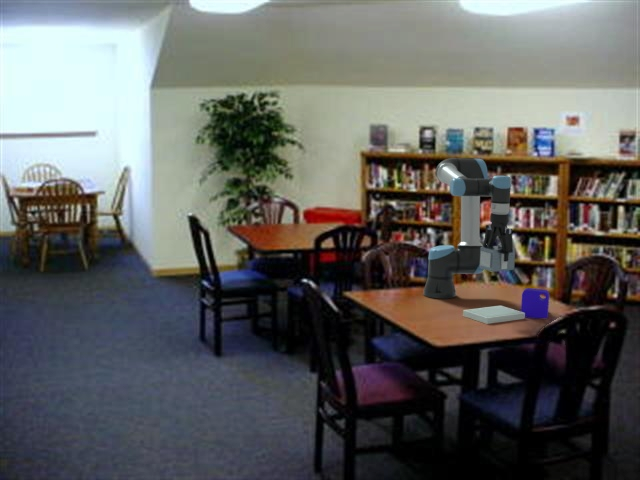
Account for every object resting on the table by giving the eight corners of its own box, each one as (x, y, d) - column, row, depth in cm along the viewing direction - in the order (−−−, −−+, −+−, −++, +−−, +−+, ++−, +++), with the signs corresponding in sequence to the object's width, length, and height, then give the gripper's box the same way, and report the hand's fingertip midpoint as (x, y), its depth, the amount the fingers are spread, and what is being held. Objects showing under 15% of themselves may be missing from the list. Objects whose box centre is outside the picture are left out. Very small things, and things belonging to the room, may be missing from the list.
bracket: (546, 319, 359) (548, 292, 358) (520, 316, 363) (522, 289, 361) (550, 310, 376) (552, 284, 374) (525, 307, 380) (526, 282, 378)
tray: (462, 315, 361) (463, 309, 361) (500, 311, 372) (500, 305, 371) (486, 323, 348) (487, 317, 348) (524, 318, 359) (525, 312, 359)
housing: (478, 268, 357) (479, 244, 355) (500, 266, 363) (502, 242, 362) (491, 271, 350) (492, 247, 349) (514, 269, 357) (515, 245, 355)
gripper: (476, 210, 360) (473, 263, 364) (510, 216, 343) (507, 272, 346) (489, 210, 364) (486, 262, 368) (524, 215, 346) (520, 270, 350)
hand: (496, 267), depth 357 cm, fingers closed on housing, 8 cm apart
